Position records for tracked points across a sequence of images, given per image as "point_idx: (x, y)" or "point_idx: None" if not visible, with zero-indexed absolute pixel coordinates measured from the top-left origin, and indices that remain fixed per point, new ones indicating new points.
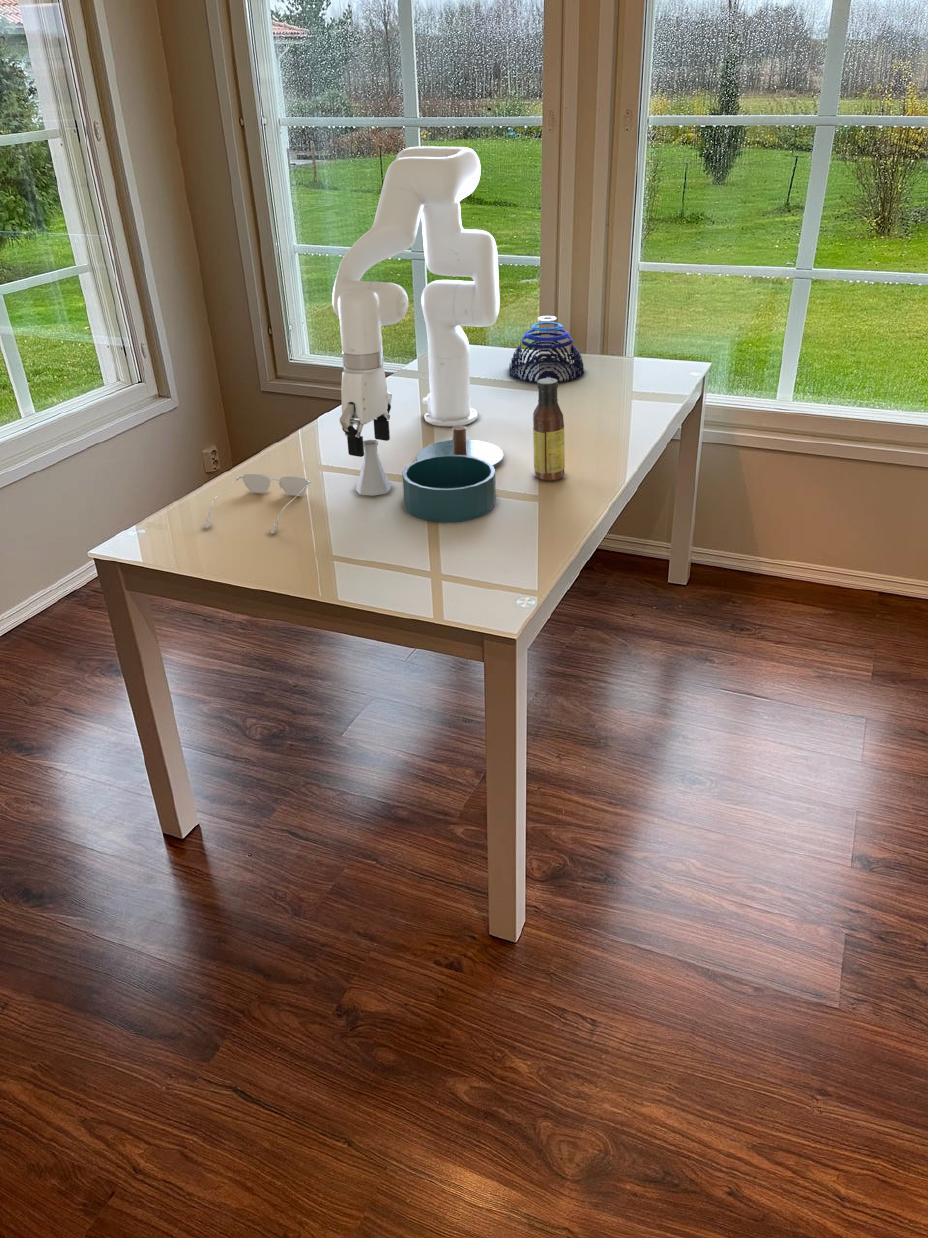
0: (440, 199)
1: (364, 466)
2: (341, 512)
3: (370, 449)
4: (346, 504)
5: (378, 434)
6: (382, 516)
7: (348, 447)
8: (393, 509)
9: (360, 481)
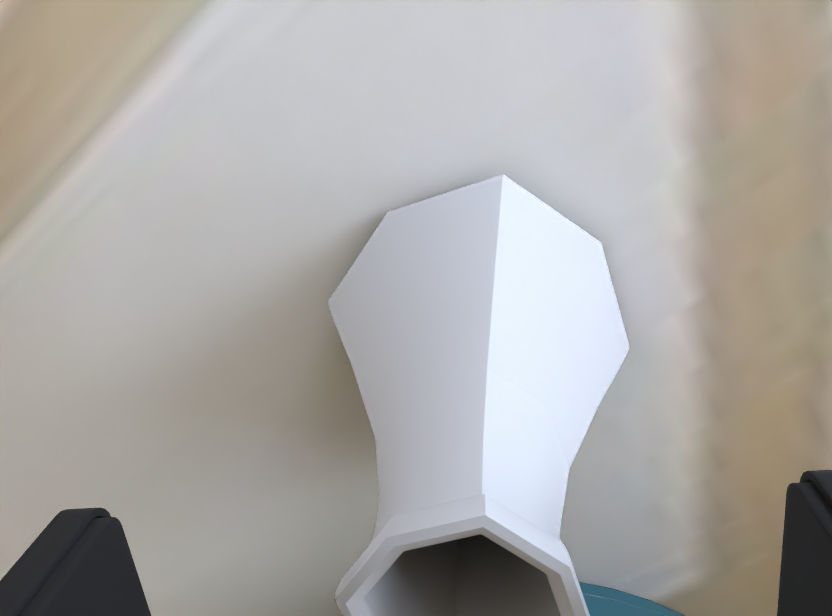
0: None
1: (372, 415)
2: (50, 347)
3: (393, 611)
4: (161, 298)
5: (819, 589)
6: (173, 579)
7: (12, 577)
8: (285, 585)
9: (363, 311)
